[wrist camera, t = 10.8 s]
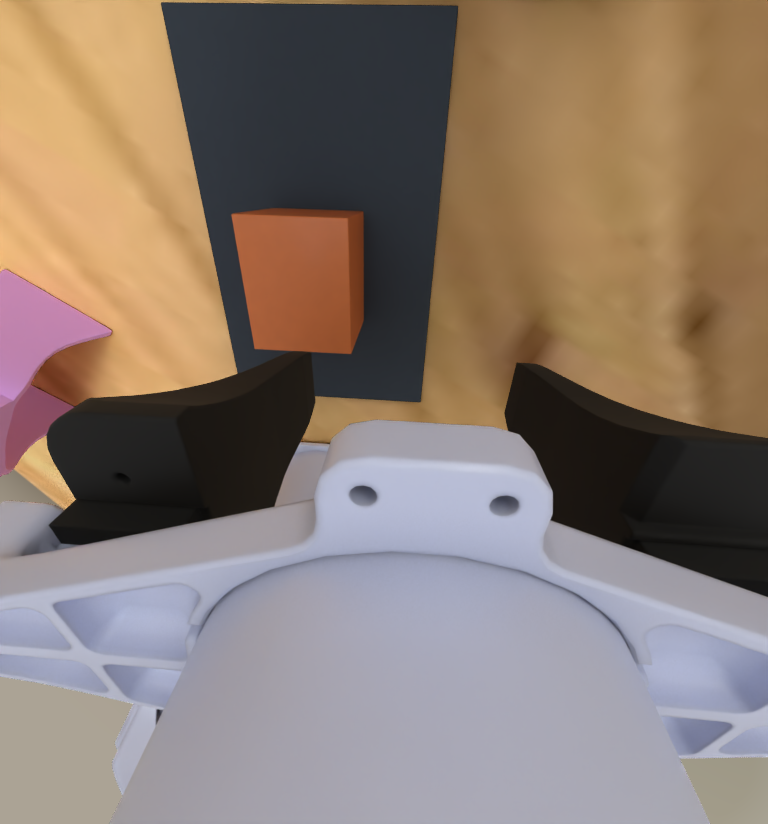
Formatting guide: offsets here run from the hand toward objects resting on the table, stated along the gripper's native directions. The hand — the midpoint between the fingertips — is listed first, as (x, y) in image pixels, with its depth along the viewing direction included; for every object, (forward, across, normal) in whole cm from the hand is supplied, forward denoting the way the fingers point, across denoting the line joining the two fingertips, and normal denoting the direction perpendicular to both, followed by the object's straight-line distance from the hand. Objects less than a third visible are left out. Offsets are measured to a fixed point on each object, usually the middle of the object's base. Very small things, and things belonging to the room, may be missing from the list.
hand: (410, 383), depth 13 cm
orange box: (+9, +5, -2) cm, 11 cm away
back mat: (+9, +5, -3) cm, 11 cm away
